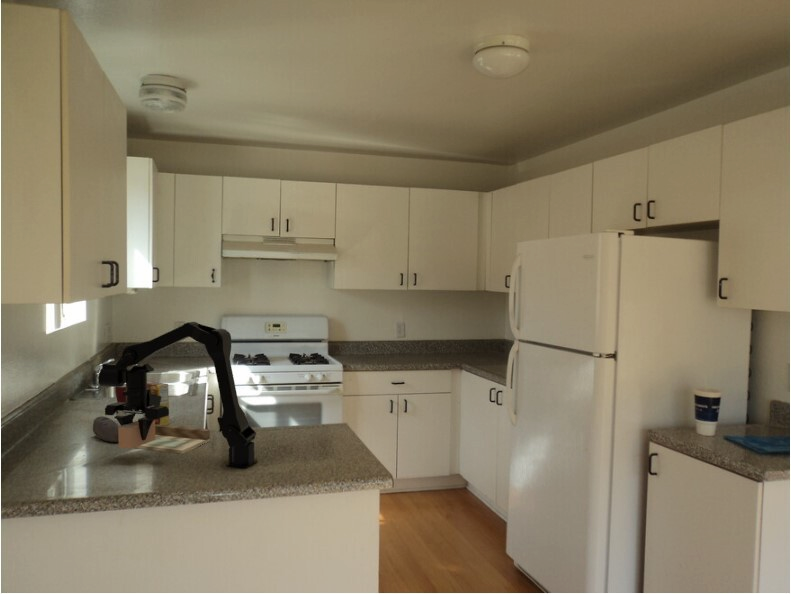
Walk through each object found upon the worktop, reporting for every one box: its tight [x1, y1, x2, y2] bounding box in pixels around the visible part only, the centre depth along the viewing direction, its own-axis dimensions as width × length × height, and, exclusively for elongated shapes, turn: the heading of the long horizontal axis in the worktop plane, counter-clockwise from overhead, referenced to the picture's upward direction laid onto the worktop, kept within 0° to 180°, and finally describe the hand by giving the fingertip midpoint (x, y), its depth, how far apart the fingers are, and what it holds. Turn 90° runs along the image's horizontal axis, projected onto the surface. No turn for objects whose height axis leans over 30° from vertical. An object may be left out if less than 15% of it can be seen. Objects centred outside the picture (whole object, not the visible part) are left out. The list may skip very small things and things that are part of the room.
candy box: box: [147, 381, 170, 426], centre depth 219 cm, size 9×4×15 cm, turn 60°
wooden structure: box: [134, 424, 211, 454], centre depth 194 cm, size 22×14×4 cm, turn 72°
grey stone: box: [92, 416, 120, 443], centre depth 198 cm, size 15×5×7 cm, turn 48°
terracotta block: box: [118, 420, 155, 450], centre depth 176 cm, size 4×10×6 cm, turn 162°
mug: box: [114, 383, 126, 403], centre depth 243 cm, size 11×8×10 cm
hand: (137, 439), depth 176 cm, fingers closed on terracotta block, 4 cm apart
